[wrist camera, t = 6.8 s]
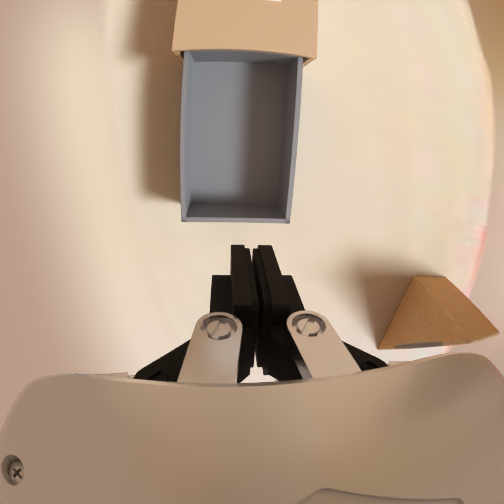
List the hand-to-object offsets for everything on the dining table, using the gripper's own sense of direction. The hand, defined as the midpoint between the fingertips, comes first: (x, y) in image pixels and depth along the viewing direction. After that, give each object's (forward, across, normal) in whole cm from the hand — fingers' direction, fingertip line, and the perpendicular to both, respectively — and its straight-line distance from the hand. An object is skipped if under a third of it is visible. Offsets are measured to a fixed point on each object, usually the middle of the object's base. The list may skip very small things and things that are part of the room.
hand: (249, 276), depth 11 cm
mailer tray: (+17, 0, -5) cm, 17 cm away
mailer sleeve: (+17, 0, -20) cm, 26 cm away
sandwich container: (+17, -29, +19) cm, 39 cm away
